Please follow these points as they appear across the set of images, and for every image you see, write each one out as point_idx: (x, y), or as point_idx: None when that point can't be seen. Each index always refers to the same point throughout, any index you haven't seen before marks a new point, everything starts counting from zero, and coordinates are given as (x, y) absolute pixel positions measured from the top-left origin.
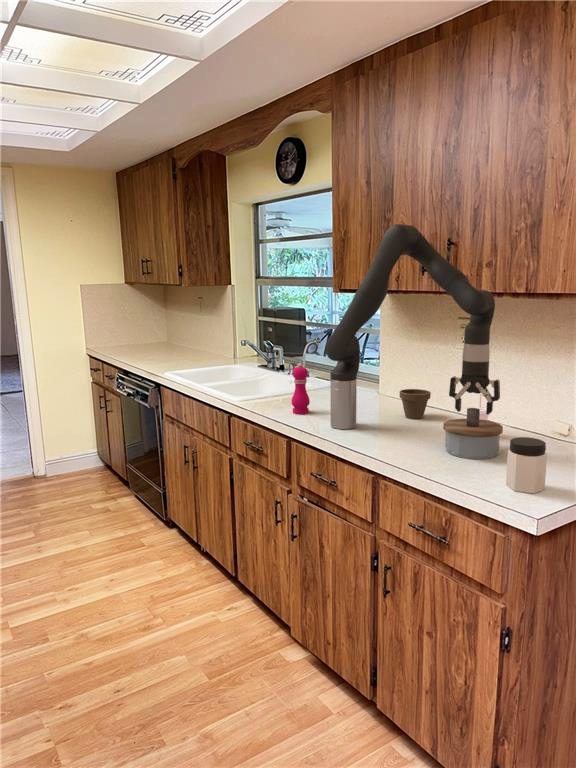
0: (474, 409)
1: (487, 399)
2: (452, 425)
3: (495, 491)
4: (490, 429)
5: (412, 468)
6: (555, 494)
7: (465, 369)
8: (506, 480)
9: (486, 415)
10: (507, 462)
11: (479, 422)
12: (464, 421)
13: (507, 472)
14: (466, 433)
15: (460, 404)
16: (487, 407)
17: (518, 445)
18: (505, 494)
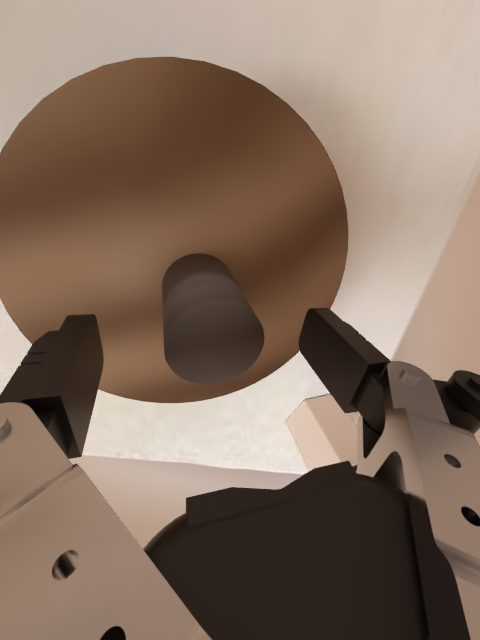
0: (225, 350)
1: (365, 439)
2: None
3: (268, 446)
4: (287, 321)
5: None
6: (351, 414)
7: None
8: (289, 429)
9: None
10: (305, 463)
11: (226, 194)
12: (119, 204)
13: (296, 445)
14: (196, 397)
15: (86, 375)
16: (327, 380)
17: None
18: (281, 447)
